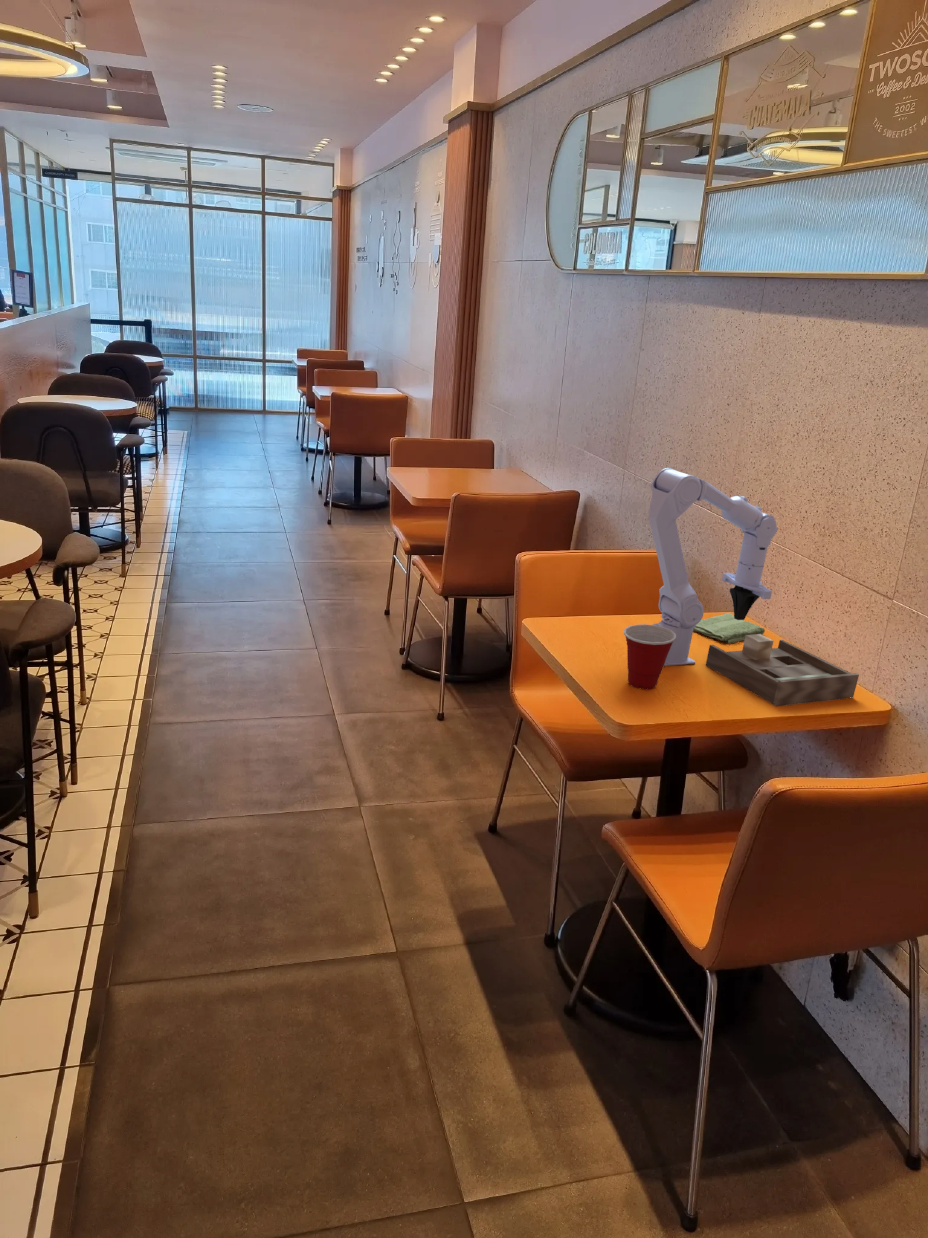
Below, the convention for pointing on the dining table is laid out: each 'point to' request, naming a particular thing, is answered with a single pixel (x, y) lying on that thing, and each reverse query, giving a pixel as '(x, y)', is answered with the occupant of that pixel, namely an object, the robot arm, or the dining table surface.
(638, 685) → the plastic cup
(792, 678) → the trap box
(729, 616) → the washcloth
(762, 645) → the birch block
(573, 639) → the dining table surface
